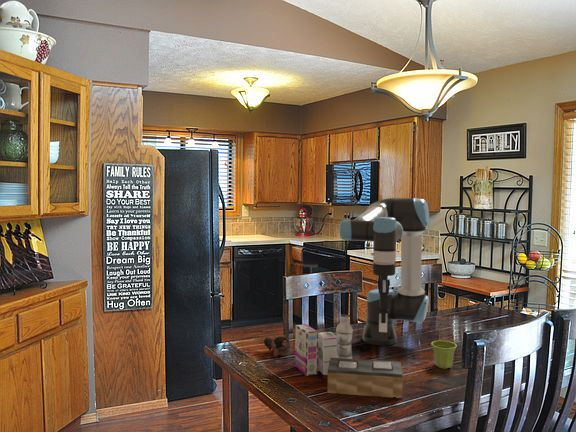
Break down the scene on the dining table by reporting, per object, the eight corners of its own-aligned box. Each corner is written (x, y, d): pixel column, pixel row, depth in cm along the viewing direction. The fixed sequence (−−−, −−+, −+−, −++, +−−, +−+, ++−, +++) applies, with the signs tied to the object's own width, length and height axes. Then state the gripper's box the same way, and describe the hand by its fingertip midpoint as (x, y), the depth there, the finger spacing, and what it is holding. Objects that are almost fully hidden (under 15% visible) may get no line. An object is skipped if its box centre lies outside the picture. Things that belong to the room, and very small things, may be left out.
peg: (373, 382, 176) (373, 361, 176) (390, 383, 175) (390, 362, 175) (373, 389, 170) (373, 367, 170) (391, 390, 169) (391, 368, 169)
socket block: (330, 379, 182) (330, 357, 181) (400, 383, 178) (400, 361, 177) (327, 392, 170) (327, 369, 169) (402, 398, 166) (402, 374, 165)
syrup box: (337, 373, 187) (337, 335, 186) (322, 375, 185) (322, 336, 184) (331, 368, 192) (332, 331, 191) (317, 370, 191) (317, 332, 190)
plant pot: (455, 371, 189) (456, 349, 189) (429, 368, 193) (430, 346, 192) (456, 363, 198) (457, 342, 198) (431, 360, 201) (432, 339, 201)
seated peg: (339, 381, 178) (339, 361, 178) (356, 382, 177) (356, 362, 177) (338, 388, 172) (338, 367, 172) (355, 389, 171) (356, 368, 171)
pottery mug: (292, 350, 214) (294, 337, 209) (284, 367, 206) (287, 353, 202) (266, 341, 217) (268, 328, 212) (257, 357, 209) (259, 343, 204)
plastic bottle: (342, 371, 189) (342, 319, 188) (332, 365, 195) (332, 314, 194) (356, 368, 192) (356, 317, 191) (346, 363, 198) (346, 313, 197)
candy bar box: (318, 374, 186) (318, 331, 185) (306, 376, 184) (306, 332, 183) (306, 364, 196) (306, 323, 195) (294, 366, 194) (294, 324, 193)
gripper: (372, 259, 177) (371, 325, 179) (372, 265, 164) (371, 336, 166) (394, 260, 176) (393, 326, 177) (396, 266, 163) (395, 337, 165)
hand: (383, 331), depth 172 cm, fingers closed
